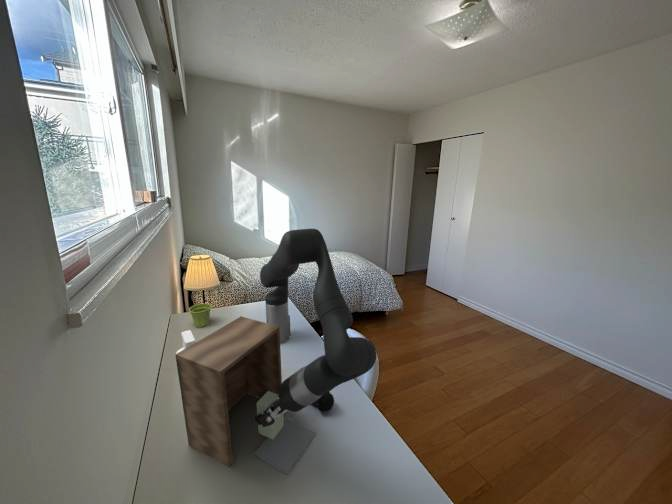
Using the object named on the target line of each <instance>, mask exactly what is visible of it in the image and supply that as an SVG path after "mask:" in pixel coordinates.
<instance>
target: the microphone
mask: <svg viewBox="0 0 672 504" xmlns="http://www.w3.org/2000/svg"><path fill="white" fill-rule="evenodd" d="M312 404H314V405H316V406H317V409H318V411H320V412H322V413H323V412H327V411H330V410H331V409H332V408H333V407H334V404H335V398H334V395H333V394H332V393H331V392H330V391H329V392H327V393H326V394H324V395H322V396H321V397H320V398H319V399H318V400H316V401H315V402H313V403H312Z"/></svg>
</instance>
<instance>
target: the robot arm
mask: <svg viewBox="0 0 672 504" xmlns="http://www.w3.org/2000/svg"><path fill="white" fill-rule="evenodd" d="M309 263H316V266H317V269H318V272H317V277H316V280H315V284H314V289H313V294H312V301H313V306H314V309H315V312H316V315H317V317H318V320H319V323H320V325H321V327H322V337H323V347H324V355H321V356H319V357H317V358H316V359H314V360H312V361H311V362H310V363H309V364H307V365H305V366H303V367H301V368H299V369H298V370H297V371H295V372H294V373H293V374H291V375H290V376H289V377H287V378H286V379H285V380H283V381H282V384H281V387H280V392H279V394H278V396H277V397H276V398H275V399H274V400H273V401H272V402H271V403H270V404H269V405H268V406H267V409H265V410H264V411H262V413H260V414H259V415H256V416H255V418H254V420H255V421H254V422H256V423H257V426H258V425H261V424H262V426H263V427H267V426H270V425H272V424H273V423H274V422H275V419H276V418H277V417H278V416H280V415H281V414H282V413H283V414H285V413H286V412H288V411H290V412H292V413H297V412H300V411H302V410H303V409H305V408H307V407H308V406H310V405H311V404H314V403H313V402H315V401H316V400H318V399H319V398H320V397H321V396H322V395H324V394H326V393H327V392H330V391H332V390H334V389H335V388H336V387H338V386H339V385H341V384H343V383H344V384H345V383H347V382H349V381H352V380H354V379H357V378H358V377H361V376H362V375H364V374H367V373H368V372H369V371H370V370H372V368H373V367H374V365H375V363H376V359H377V349H376V347H375V345H374V343H373V342H372V341H371V340H369V339H368V338H365V337H358V336H357V337H356V336H355V337H354V336H353V337H352V336H349V334H348V331H347V330H348V329H350V328H351V326H352V325H353V323H354V322H353V321H354V318H353V315H352V312H351V310H350V308H349V306H348V303H347V301H346V300H345V298H344V295H343V293H342V291H341V289H340V286H339V283H338V280H337V277H336V274H335V271H334V270H335V269H334V267H333V263H332V259H331V256H330V254H329V250H328V247H327V243H326V240H325V239H324V236H323V234H322V232H321V231H320V230H318V229H317V228H301V229H291V230H288V231H286V232H284V233H283V235H282V237H281V239H280V242H279V244H278V247H277V249H276V251H275V252H274V253H273V255H272V256H271V258H270V260H269V261H268V262H267V263H266V264H264V265H263V266H262V267H261V269H260V272H259V278H260V283H261V285H262V286H263V287H265V288H275V289H274V290H272V291H270V292H268V293H267V294H265V298H264V300H265V301H264V302H265V316H266V317H265V318H266V323H268V324H272V325H276V326H279V327H280V345H281V344H283V343H286V342H287V341H289V340H290V336H291V335H292V334H291V316H290V315H289V278H291V276H293V275H294V274H295V273H296V272H297V271H298V269H299V266H300V264H301V265H302V264H309ZM272 405H273V406H272Z"/></svg>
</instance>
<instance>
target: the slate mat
mask: <svg viewBox="0 0 672 504" xmlns="http://www.w3.org/2000/svg"><path fill="white" fill-rule="evenodd" d="M283 420H284V426H283V427H282V429H281V430H280V431H279V432H278V434H277V435H276V436H275V438H274V439H271V438H269V437H267V438H266V439H265V441H263V443H262V444H261V445H260V446H259V448H257V449H256V451H254V452H255V453H254V455H256V456H258V457H259V458H260V459H262V460H263V461H265V462H267V463H268V464H270V465H271V466H272V467H274V468H276V469H277V470H279V471H280V472H282V473H284V474H285V475H287V476H288V475H289V474H290V473H291V471H292V469H293V468H294V467H295V465H296V464H297V462H298V461H299V459H300V458H301V457H302V455H303V454H304V452H305V451H306V450H307V448H308V447H309V445H310V444H311V443H312V441H313V440H314V439H315V437H316V436H317V432H315V431H313V430H312V429H309V428H308V427H306V426H304V425H302V424H300V423H298V422H297V421H295V420H292V419H291V418H289V417H285V419H283Z"/></svg>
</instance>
